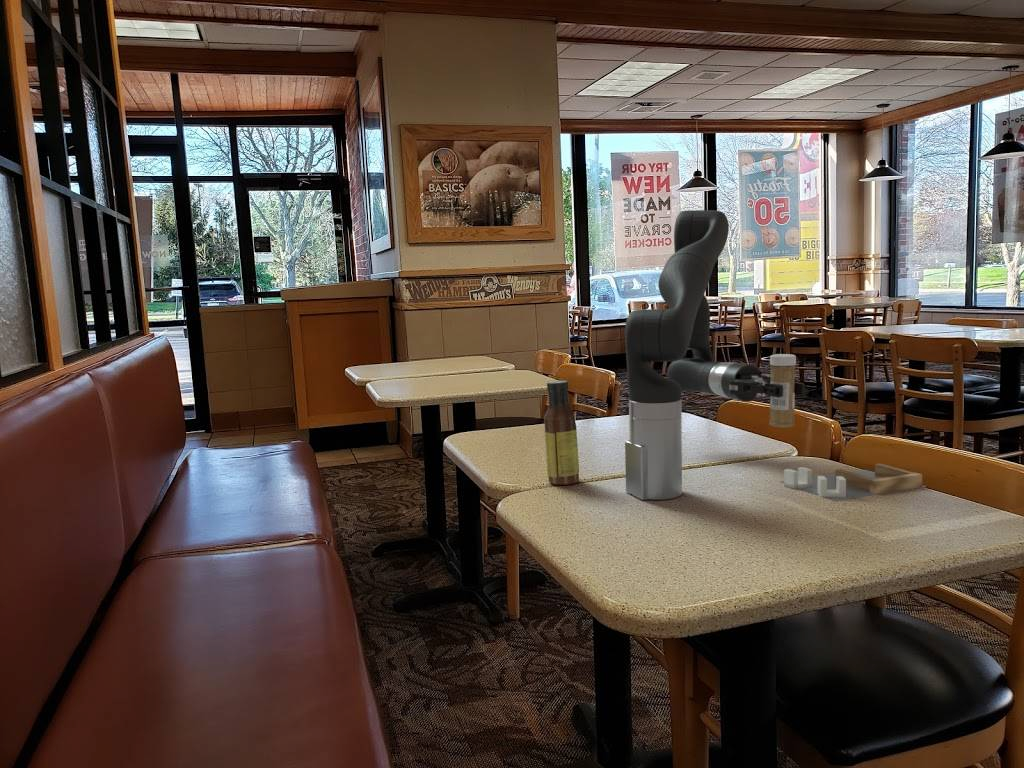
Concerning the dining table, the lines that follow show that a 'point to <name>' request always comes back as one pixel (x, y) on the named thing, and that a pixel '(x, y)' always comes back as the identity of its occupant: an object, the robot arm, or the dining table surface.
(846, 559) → the dining table surface
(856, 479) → the end holder
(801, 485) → the board
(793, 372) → the sprinkles bottle
